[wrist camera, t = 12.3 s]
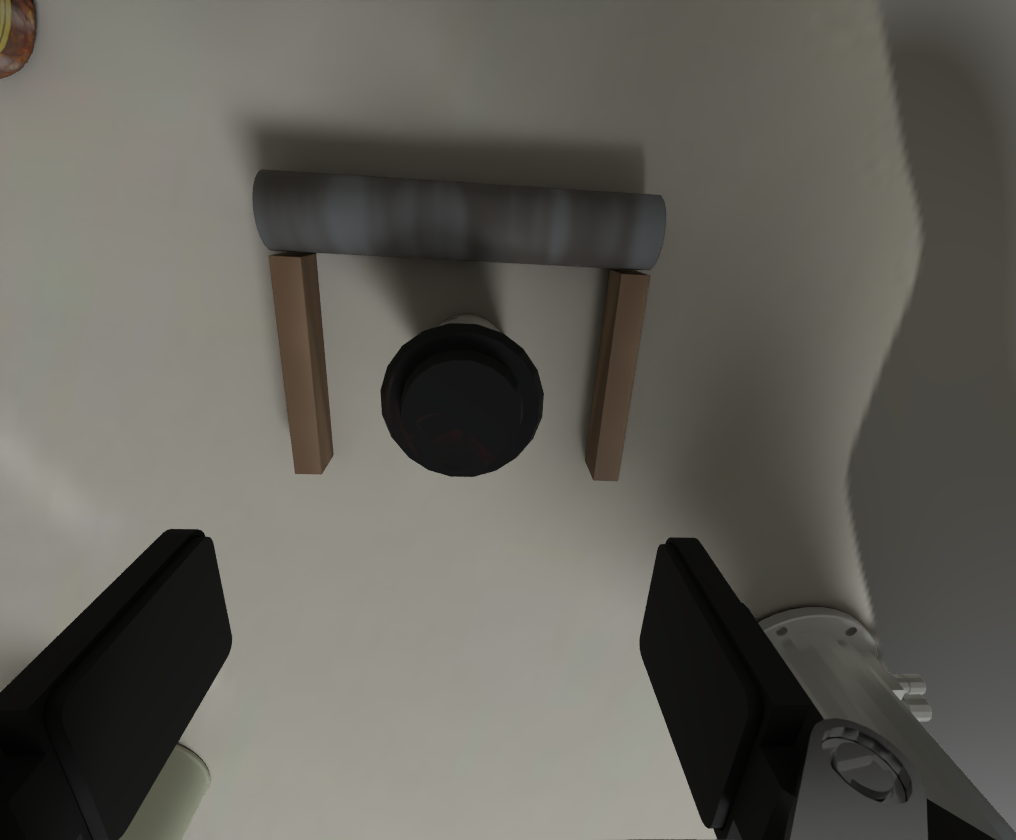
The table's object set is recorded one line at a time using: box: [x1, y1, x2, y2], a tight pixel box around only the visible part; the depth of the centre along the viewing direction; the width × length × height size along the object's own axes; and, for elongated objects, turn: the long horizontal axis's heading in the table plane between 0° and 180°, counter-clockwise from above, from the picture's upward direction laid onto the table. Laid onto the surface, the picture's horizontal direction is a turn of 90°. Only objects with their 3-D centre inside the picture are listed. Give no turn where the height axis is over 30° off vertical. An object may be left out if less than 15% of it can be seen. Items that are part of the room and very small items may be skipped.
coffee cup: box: [381, 314, 544, 477], centre depth 24 cm, size 7×7×10 cm
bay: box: [253, 170, 666, 481], centre depth 27 cm, size 19×16×4 cm
